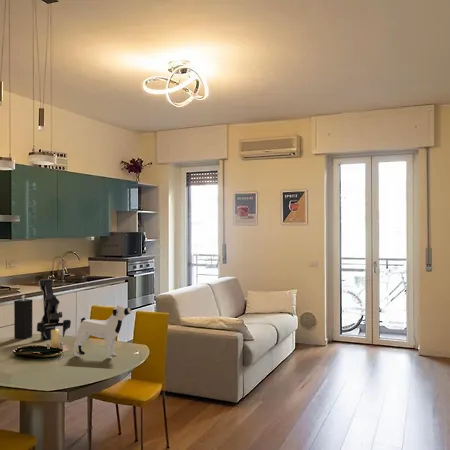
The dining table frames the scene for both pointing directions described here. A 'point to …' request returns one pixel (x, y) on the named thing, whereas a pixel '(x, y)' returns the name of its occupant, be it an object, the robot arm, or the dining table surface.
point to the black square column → (23, 318)
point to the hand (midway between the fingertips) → (55, 337)
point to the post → (55, 338)
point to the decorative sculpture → (101, 330)
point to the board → (61, 346)
